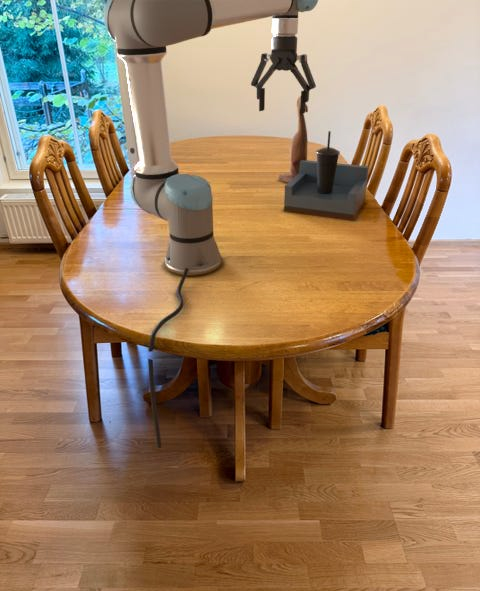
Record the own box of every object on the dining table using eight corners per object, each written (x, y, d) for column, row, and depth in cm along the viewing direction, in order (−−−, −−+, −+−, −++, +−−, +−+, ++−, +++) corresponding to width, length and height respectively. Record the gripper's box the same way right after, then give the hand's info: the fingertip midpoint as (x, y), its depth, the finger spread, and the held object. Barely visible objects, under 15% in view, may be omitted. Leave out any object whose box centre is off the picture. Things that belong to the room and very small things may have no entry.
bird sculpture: (297, 187, 191) (302, 100, 175) (277, 180, 199) (279, 96, 182) (317, 181, 197) (323, 96, 181) (296, 175, 205) (300, 93, 188)
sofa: (353, 220, 160) (357, 181, 153) (283, 211, 168) (285, 173, 162) (364, 202, 175) (368, 166, 168) (300, 194, 183) (302, 159, 177)
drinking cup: (336, 188, 170) (341, 129, 160) (335, 196, 163) (341, 134, 153) (314, 187, 171) (318, 128, 161) (312, 194, 164) (316, 133, 154)
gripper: (329, 35, 142) (323, 112, 152) (250, 34, 151) (250, 107, 161) (322, 36, 136) (316, 116, 146) (240, 35, 145) (240, 111, 155)
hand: (281, 112), depth 154 cm, fingers open, 13 cm apart
